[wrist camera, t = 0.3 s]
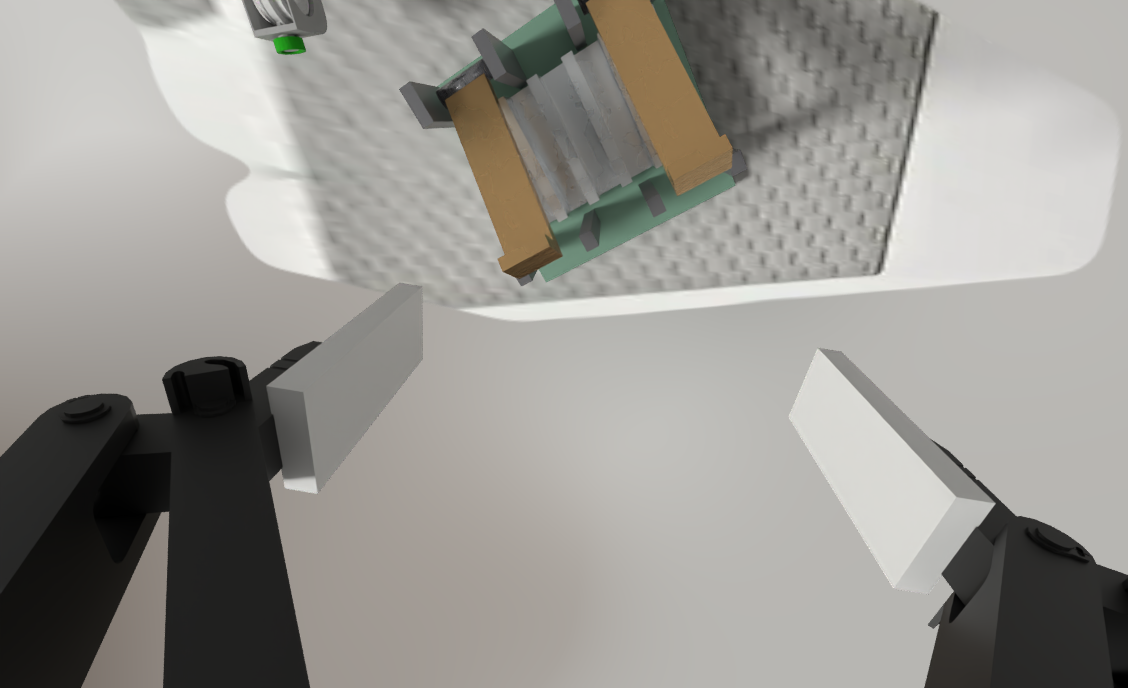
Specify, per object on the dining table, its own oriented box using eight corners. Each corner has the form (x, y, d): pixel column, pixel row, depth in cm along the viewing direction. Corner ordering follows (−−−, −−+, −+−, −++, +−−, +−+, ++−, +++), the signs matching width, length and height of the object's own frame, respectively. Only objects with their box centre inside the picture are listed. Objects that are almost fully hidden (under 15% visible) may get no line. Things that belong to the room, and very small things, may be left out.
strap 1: (444, 97, 30) (421, 75, 28) (489, 66, 29) (470, 40, 27) (516, 282, 28) (498, 274, 25) (568, 254, 27) (554, 243, 24)
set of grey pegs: (444, 96, 35) (398, 89, 27) (641, -41, 30) (652, -95, 22) (536, 256, 39) (520, 288, 32) (718, 158, 35) (749, 169, 27)
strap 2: (578, 4, 27) (565, -29, 25) (634, -34, 26) (625, -73, 24) (672, 200, 25) (667, 183, 23) (737, 166, 24) (738, 144, 22)
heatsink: (470, 127, 35) (454, 128, 32) (650, 8, 31) (656, -6, 28) (529, 231, 38) (521, 242, 35) (700, 136, 34) (711, 138, 31)
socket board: (440, 90, 36) (433, 89, 34) (640, -51, 31) (642, -59, 30) (548, 277, 42) (546, 282, 40) (730, 182, 37) (735, 185, 36)
